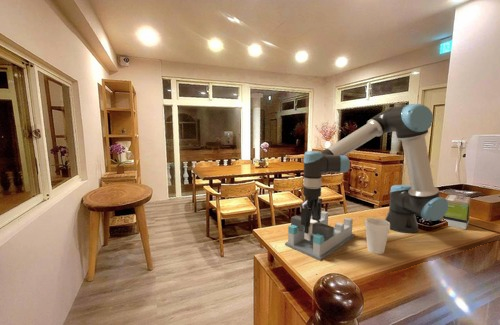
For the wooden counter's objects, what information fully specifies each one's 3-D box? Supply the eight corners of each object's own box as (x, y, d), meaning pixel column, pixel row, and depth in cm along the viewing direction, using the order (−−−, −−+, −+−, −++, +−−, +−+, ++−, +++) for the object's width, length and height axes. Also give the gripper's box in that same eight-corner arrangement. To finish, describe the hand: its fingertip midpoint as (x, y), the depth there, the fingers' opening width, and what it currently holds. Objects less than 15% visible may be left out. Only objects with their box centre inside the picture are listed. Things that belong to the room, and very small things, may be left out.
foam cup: (384, 246, 104) (385, 218, 102) (391, 257, 95) (393, 226, 93) (361, 244, 106) (362, 217, 104) (366, 254, 97) (368, 225, 95)
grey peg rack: (354, 236, 114) (355, 218, 113) (320, 260, 92) (320, 239, 91) (321, 225, 127) (322, 210, 126) (285, 245, 106) (285, 226, 104)
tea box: (446, 217, 137) (448, 193, 135) (469, 222, 130) (472, 197, 128) (441, 224, 127) (444, 198, 125) (466, 230, 120) (469, 202, 118)
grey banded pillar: (333, 236, 97) (333, 226, 97) (327, 239, 94) (328, 229, 94) (296, 223, 111) (296, 214, 111) (290, 226, 108) (290, 216, 108)
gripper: (315, 182, 109) (314, 229, 112) (292, 188, 97) (291, 241, 100) (330, 185, 103) (328, 234, 106) (307, 192, 91) (306, 247, 94)
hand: (310, 237), depth 103 cm, fingers closed on grey banded pillar, 5 cm apart
